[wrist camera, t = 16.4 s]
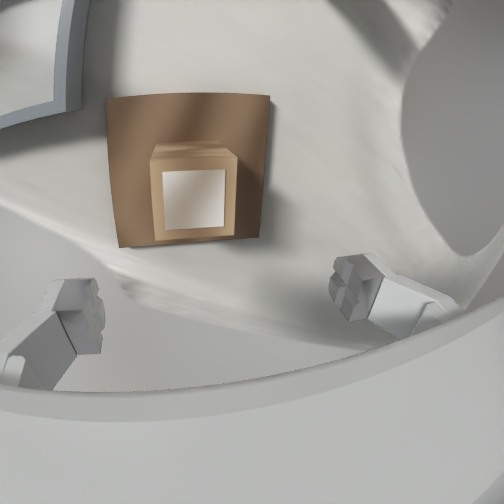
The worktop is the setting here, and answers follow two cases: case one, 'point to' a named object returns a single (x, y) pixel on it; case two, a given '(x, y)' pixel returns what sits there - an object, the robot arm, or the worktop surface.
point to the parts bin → (62, 67)
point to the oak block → (193, 190)
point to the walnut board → (183, 130)
